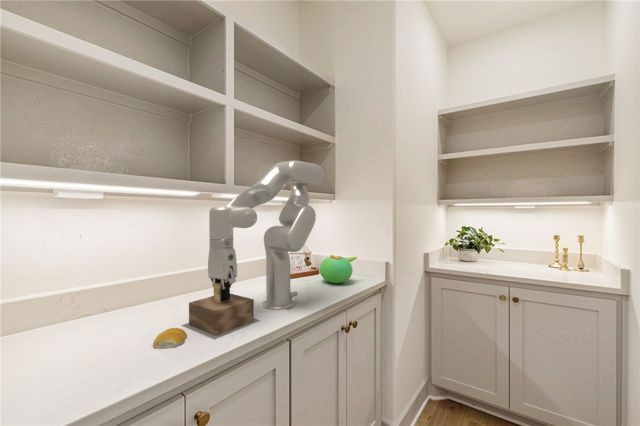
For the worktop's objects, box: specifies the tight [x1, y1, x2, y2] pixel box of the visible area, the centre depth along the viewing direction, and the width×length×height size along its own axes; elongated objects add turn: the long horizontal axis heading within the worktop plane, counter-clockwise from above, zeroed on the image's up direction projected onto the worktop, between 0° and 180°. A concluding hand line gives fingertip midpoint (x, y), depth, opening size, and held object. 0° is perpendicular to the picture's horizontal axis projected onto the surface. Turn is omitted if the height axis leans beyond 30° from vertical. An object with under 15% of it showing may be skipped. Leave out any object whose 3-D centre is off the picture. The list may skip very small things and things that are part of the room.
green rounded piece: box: [319, 254, 358, 284], centre depth 154 cm, size 18×17×15 cm
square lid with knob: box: [188, 281, 255, 336], centre depth 97 cm, size 15×15×13 cm
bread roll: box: [152, 327, 188, 350], centre depth 84 cm, size 8×9×4 cm
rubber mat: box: [181, 318, 262, 340], centre depth 97 cm, size 18×18×1 cm
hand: (221, 298), depth 97 cm, fingers closed on square lid with knob, 3 cm apart
